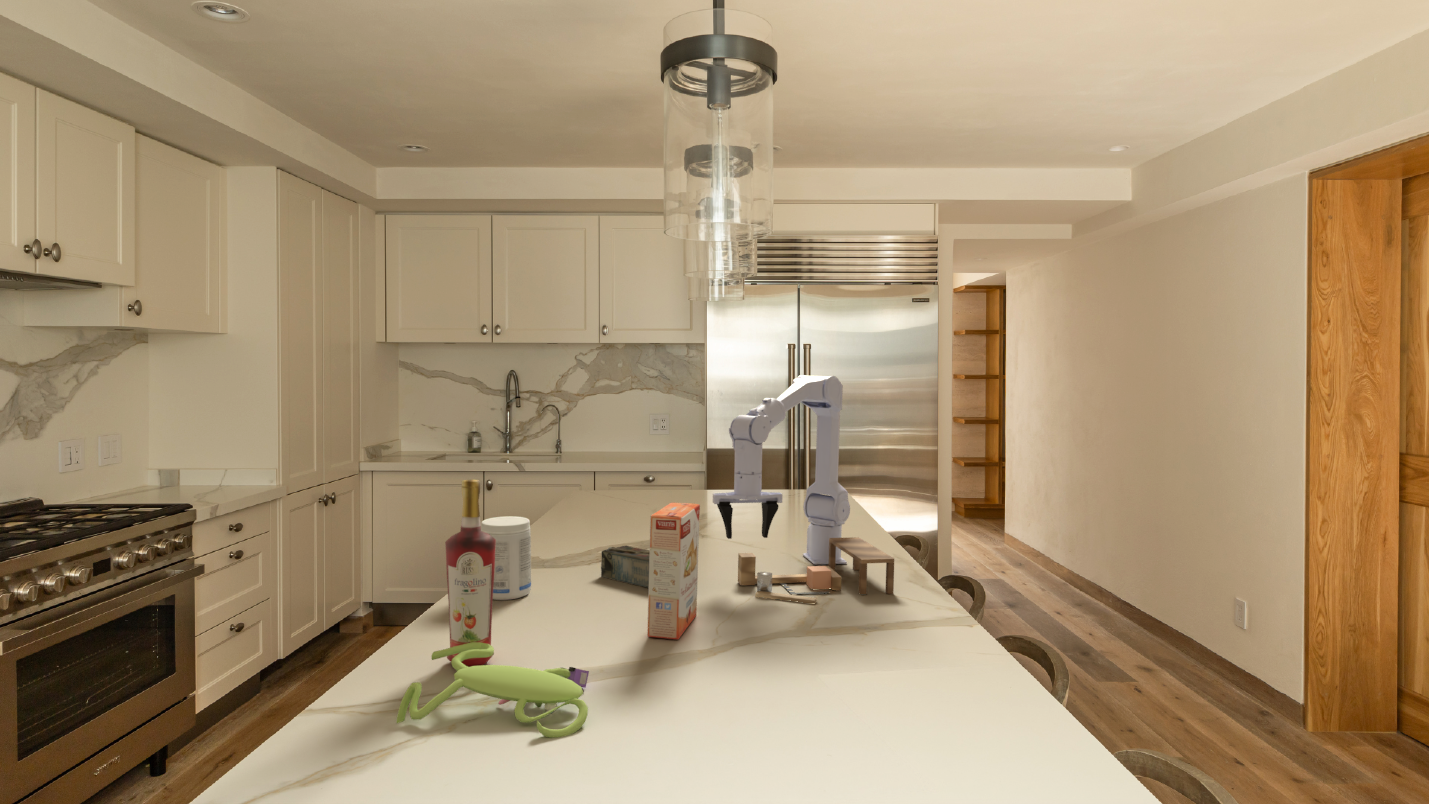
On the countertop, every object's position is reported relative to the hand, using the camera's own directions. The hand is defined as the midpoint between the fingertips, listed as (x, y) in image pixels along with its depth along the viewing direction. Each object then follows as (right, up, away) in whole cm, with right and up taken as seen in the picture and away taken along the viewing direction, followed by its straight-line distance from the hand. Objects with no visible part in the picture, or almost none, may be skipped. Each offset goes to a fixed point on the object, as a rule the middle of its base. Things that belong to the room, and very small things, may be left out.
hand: (746, 537), depth 171 cm
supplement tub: (-48, -10, -10) cm, 50 cm away
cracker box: (-14, -11, -27) cm, 33 cm away
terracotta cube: (+15, -10, -1) cm, 18 cm away
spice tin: (+3, -10, -6) cm, 12 cm away
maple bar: (+7, -11, -10) cm, 17 cm away
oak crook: (+9, -10, -1) cm, 13 cm away
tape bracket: (+12, -10, 0) cm, 16 cm away
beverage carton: (-22, -10, +2) cm, 24 cm away
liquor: (-44, -12, -46) cm, 65 cm away
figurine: (-36, -13, -60) cm, 71 cm away
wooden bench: (+24, -10, +4) cm, 27 cm away
